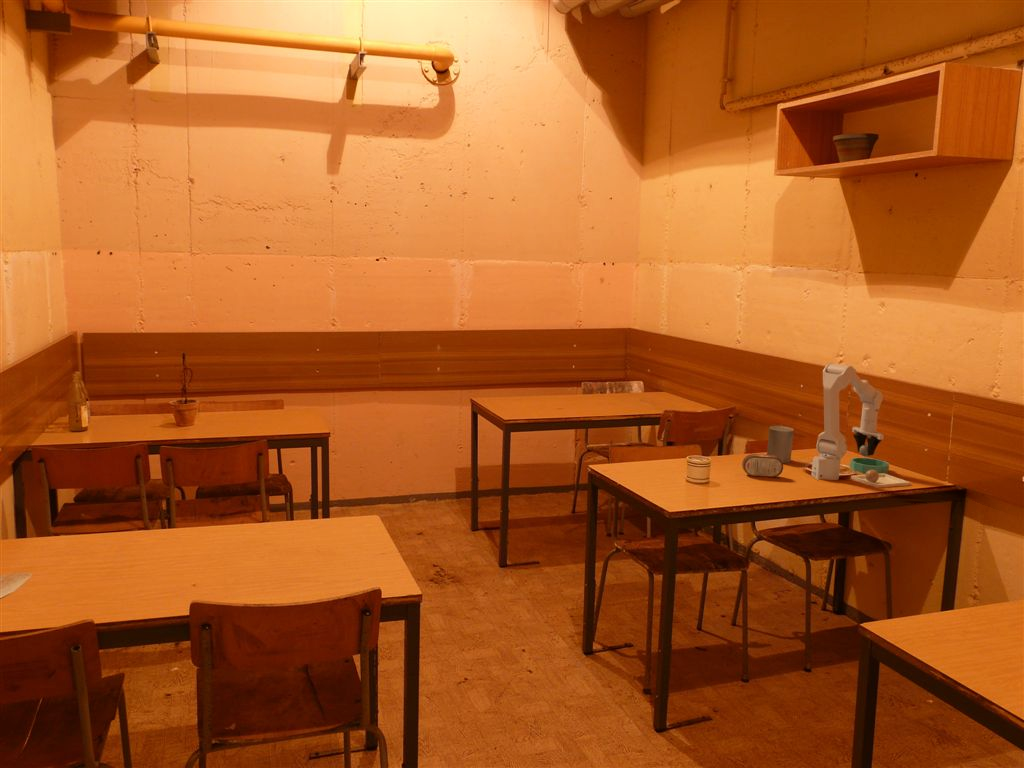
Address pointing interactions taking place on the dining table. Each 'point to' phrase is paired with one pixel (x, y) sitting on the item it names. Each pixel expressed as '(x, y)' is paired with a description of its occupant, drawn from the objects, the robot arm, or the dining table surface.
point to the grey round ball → (864, 450)
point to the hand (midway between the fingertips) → (865, 453)
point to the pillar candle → (780, 442)
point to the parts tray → (882, 481)
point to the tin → (762, 465)
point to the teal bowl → (869, 465)
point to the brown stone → (872, 476)
